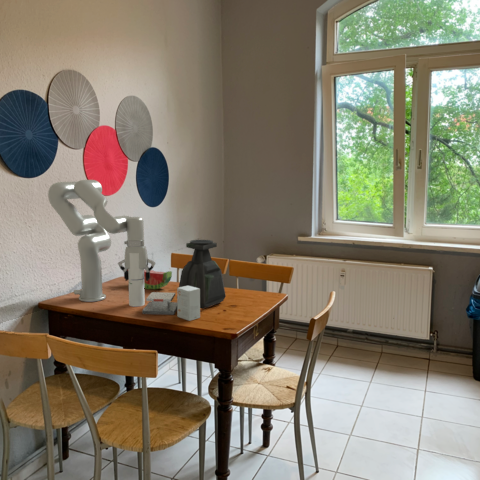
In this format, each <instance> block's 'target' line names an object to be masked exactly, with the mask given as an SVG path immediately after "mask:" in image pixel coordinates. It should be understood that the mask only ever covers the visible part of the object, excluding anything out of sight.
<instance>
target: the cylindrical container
mask: <svg viewBox="0 0 480 480" xmlns="http://www.w3.org/2000/svg"><path fill="white" fill-rule="evenodd" d="M129 255H130V269H128V305H129V306H130V307H134V308H135V307H136V308H137V307H139V308H140V307H143V306H146V305H145V303H146V298H145V297H146V295H145V294H146V293H145V289H144V270H145V269H139V253H129Z"/></svg>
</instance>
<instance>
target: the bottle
mask: <svg viewBox="0 0 480 480" xmlns="http://www.w3.org/2000/svg"><path fill="white" fill-rule="evenodd" d="M217 243H218V242H214V241H213V240H210V239H193V240H190V241H189V242H187V243H186V244H185V247H186V248H188V249H192V250H193V252H192V257H191V260H190V261H189V260H188V262H187V263H186V264H185V265H184V266H183V268H182V269H181V274H180V278H179V279H180V280H179V285H178V288H179V287H183V286H192V287H196V288H199V289H200V309H203V310H204V309H207V308H209V307H213V306H214V305H218V304H220V303H222V302H224V300H225V298H226V297H227V294H226V290H225V284H224V278H223V274H222V268H221V267H220V266H219V265H218V263H217V262H216V261H215V260H212V256H211V254H210V253H211V252H210V250H211V249H213V248H216V247H217Z"/></svg>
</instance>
